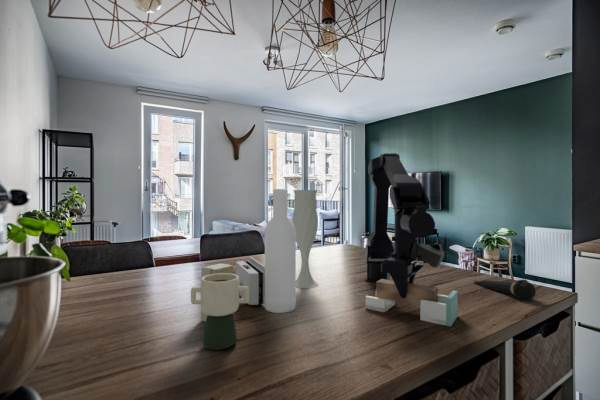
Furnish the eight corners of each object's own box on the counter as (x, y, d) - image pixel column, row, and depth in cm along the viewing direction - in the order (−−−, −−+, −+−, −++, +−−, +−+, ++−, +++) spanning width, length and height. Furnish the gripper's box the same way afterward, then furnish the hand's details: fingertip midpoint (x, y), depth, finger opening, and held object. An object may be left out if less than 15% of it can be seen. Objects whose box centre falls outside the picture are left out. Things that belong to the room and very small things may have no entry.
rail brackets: (365, 308, 85) (365, 284, 85) (376, 300, 91) (377, 278, 91) (450, 326, 73) (451, 299, 73) (457, 316, 80) (457, 291, 79)
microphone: (471, 294, 109) (529, 305, 89) (465, 277, 109) (522, 285, 90) (484, 287, 110) (543, 297, 91) (478, 270, 110) (536, 277, 91)
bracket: (235, 291, 99) (235, 257, 99) (251, 289, 101) (251, 256, 101) (249, 309, 84) (249, 269, 84) (267, 307, 86) (267, 268, 86)
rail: (376, 297, 85) (376, 281, 85) (381, 293, 88) (381, 278, 88) (434, 308, 77) (434, 291, 77) (437, 304, 80) (437, 287, 80)
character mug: (250, 336, 68) (250, 272, 68) (247, 353, 61) (247, 281, 61) (195, 338, 67) (195, 273, 67) (185, 355, 60) (185, 282, 60)
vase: (286, 286, 105) (287, 190, 104) (297, 280, 113) (297, 190, 112) (313, 289, 102) (313, 190, 101) (322, 282, 109) (322, 190, 109)
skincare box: (213, 325, 74) (213, 269, 74) (200, 321, 76) (199, 267, 76) (234, 316, 79) (234, 264, 79) (220, 312, 82) (220, 262, 81)
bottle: (296, 303, 89) (297, 189, 88) (294, 313, 81) (295, 188, 80) (266, 302, 89) (267, 189, 89) (261, 313, 81) (261, 188, 81)
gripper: (431, 239, 70) (430, 313, 71) (449, 231, 86) (449, 292, 86) (380, 235, 77) (379, 303, 77) (405, 228, 92) (405, 285, 92)
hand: (405, 295), depth 83 cm, fingers closed on rail, 3 cm apart
